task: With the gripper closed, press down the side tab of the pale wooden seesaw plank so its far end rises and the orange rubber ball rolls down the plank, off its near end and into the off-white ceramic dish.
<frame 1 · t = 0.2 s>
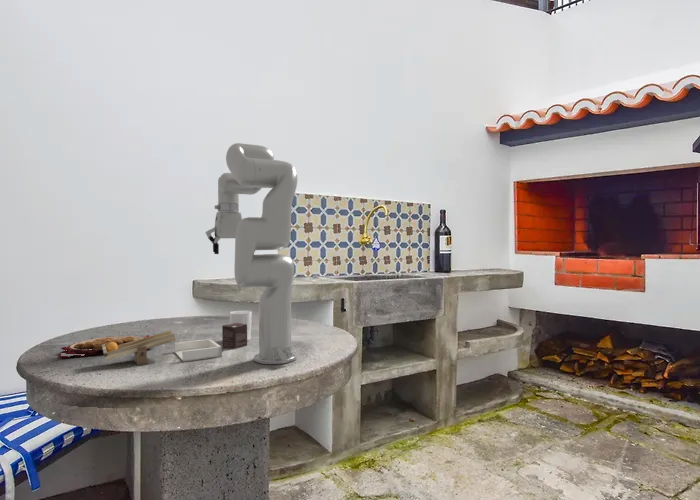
hand: (228, 253, 175), 31 cm above the table, tool pointing down, fingers open, 9 cm apart
box: (234, 346, 156), on the table
dish: (197, 354, 144), on the table
fulcrum: (140, 361, 136), on the table
plate with food: (108, 349, 155), on the table
white cup: (241, 340, 166), on the table
ball: (111, 347, 132), point 5 cm above the table, tilted 10°, touching lever
lever: (137, 340, 139), point 6 cm above the table, hinge at -11.0°, touching ball
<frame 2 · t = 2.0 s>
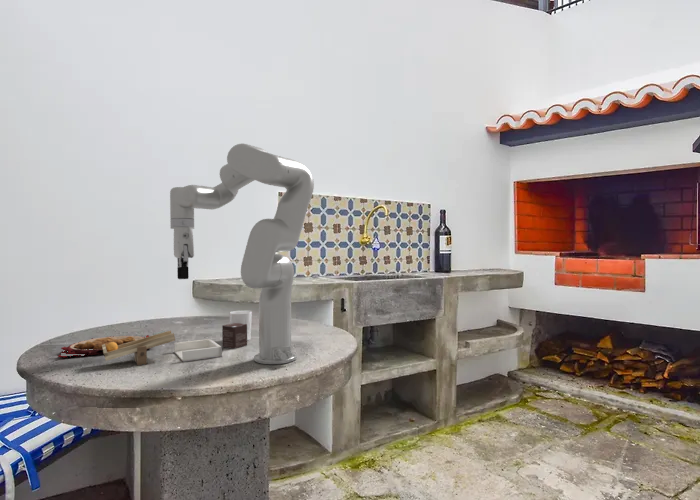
hand: (183, 278, 154), 23 cm above the table, tool pointing down, fingers closed
nothing on the table moved.
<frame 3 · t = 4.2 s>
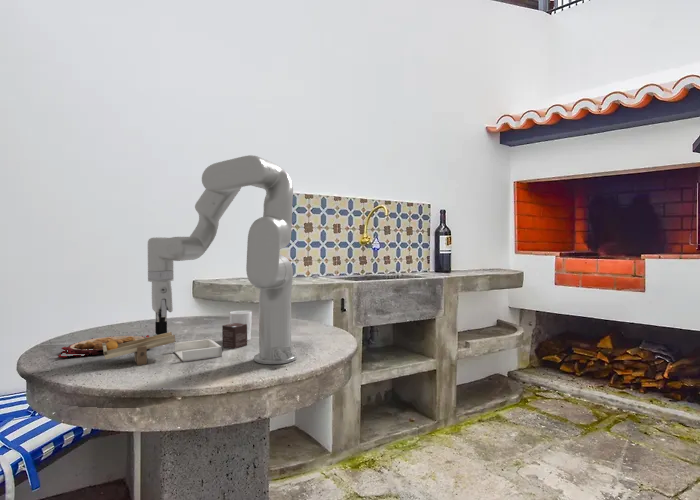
hand: (161, 333, 145), 6 cm above the table, tool pointing down, fingers closed
lever: (138, 340, 139), point 6 cm above the table, hinge at -8.1°, touching ball, gripper
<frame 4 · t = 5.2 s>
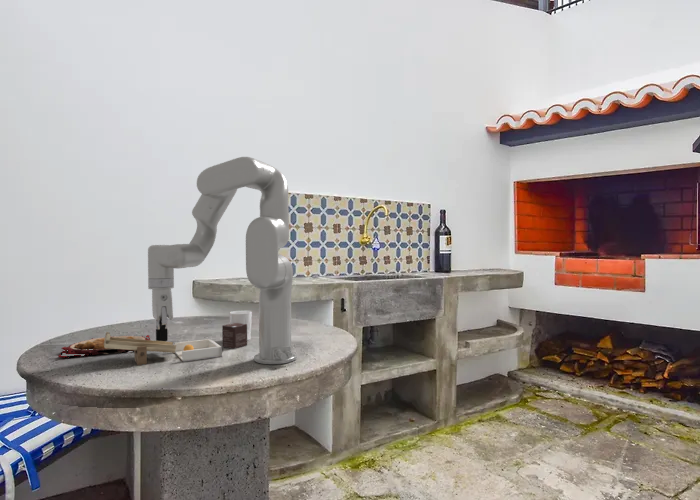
hand: (161, 341, 146), 4 cm above the table, tool pointing down, fingers closed
ball: (188, 349, 143), point 2 cm above the table, tilted 90°, touching dish
lever: (139, 340, 139), point 6 cm above the table, hinge at 11.5°, touching gripper
everything else where it was.
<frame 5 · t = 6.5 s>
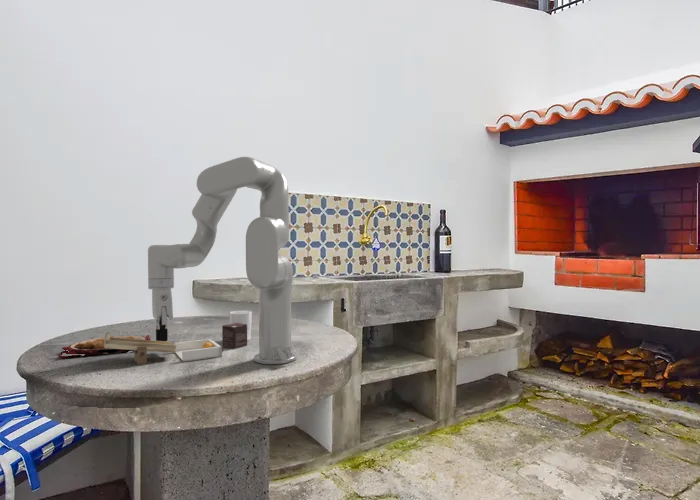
hand: (161, 341, 146), 4 cm above the table, tool pointing down, fingers closed
ball: (207, 347, 146), point 2 cm above the table, touching dish
everything else where it was.
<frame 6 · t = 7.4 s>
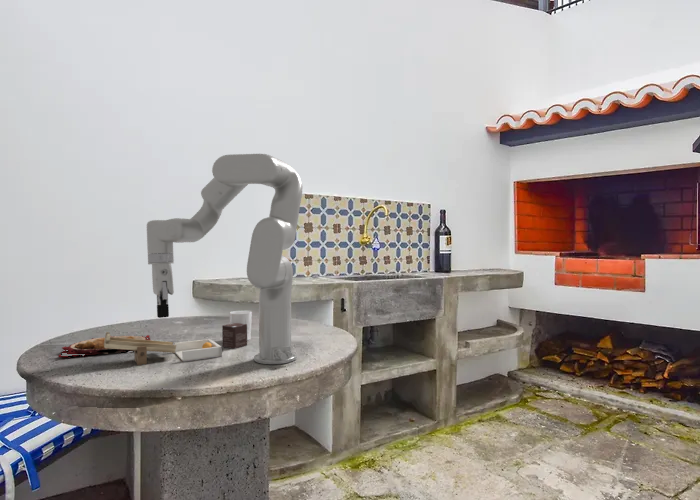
hand: (163, 316, 145), 12 cm above the table, tool pointing down, fingers closed
lever: (139, 340, 139), point 6 cm above the table, hinge at 11.5°
everything else where it was.
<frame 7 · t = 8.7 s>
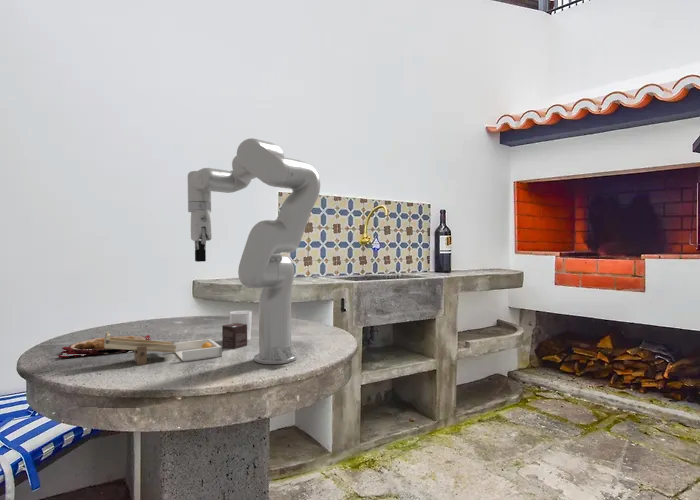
hand: (200, 261, 157), 29 cm above the table, tool pointing down, fingers closed
ball: (206, 347, 146), point 2 cm above the table, tilted 7°, touching dish
everything else where it was.
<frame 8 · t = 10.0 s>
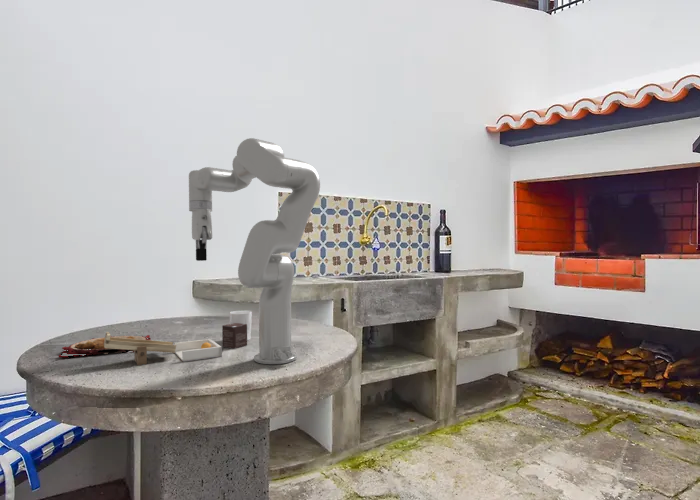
hand: (201, 260, 157), 29 cm above the table, tool pointing down, fingers closed
ball: (206, 347, 146), point 2 cm above the table, tilted 14°, touching dish
everything else where it was.
at the end: ball inside the target area on the dish (3.0 cm from its centre), point 1.9 cm above the dish's base; ball touching dish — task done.
